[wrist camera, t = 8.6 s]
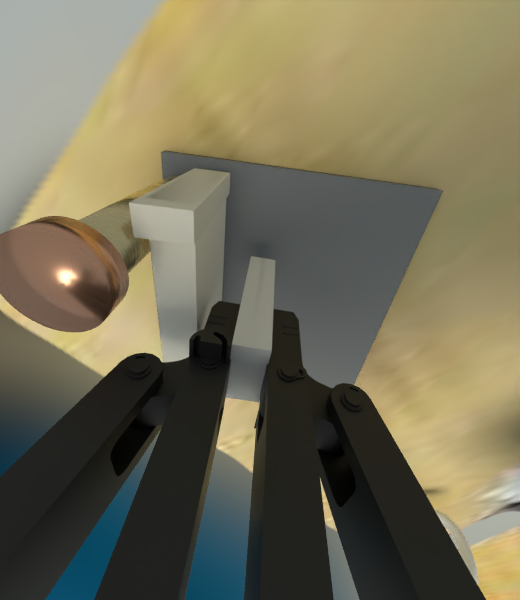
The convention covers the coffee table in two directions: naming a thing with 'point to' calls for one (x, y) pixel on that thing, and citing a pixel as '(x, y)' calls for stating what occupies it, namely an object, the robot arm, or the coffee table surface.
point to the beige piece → (184, 252)
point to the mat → (319, 250)
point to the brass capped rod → (72, 265)
